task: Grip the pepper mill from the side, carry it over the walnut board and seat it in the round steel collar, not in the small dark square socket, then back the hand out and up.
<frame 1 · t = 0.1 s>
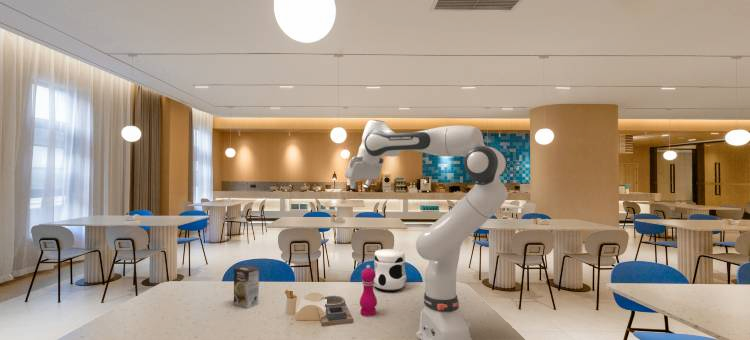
hand: (359, 188, 143), 52 cm above the table, tool tilted 20°, fingers open, 8 cm apart
caddy board: (333, 313, 138), on the table
coffee box: (246, 304, 148), on the table
milk container: (389, 288, 170), on the table
pepper mill: (368, 313, 139), on the table
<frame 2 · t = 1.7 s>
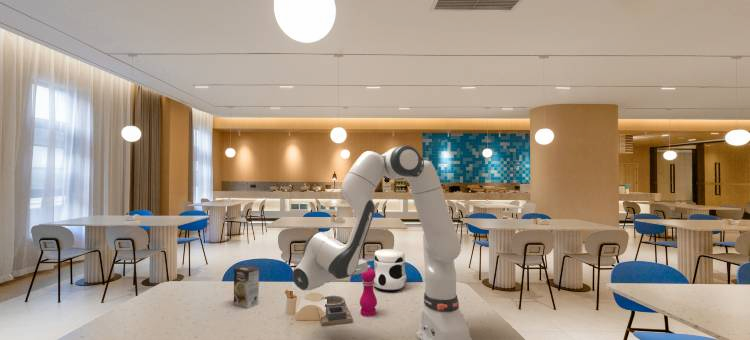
hand: (352, 259, 129), 25 cm above the table, tool horizontal, fingers open, 8 cm apart
nothing on the table moved.
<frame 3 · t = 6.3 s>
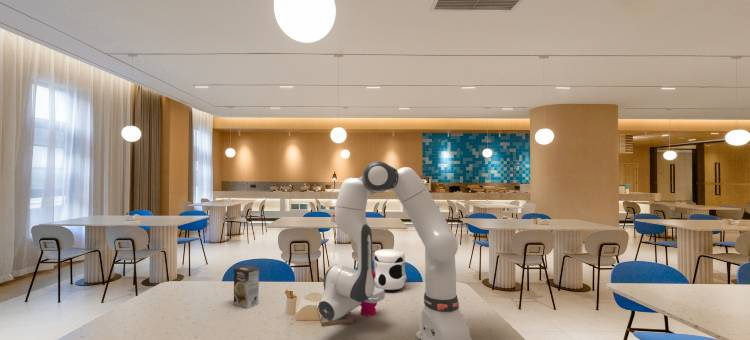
hand: (369, 285, 140), 11 cm above the table, tool horizontal, fingers closed on pepper mill, 5 cm apart
pepper mill: (368, 313, 139), on the table, touching gripper
everything else where it was.
when the fingers open (14 cm above the table, at t = 10.7 s): pepper mill moves 1 cm, resting on caddy board.
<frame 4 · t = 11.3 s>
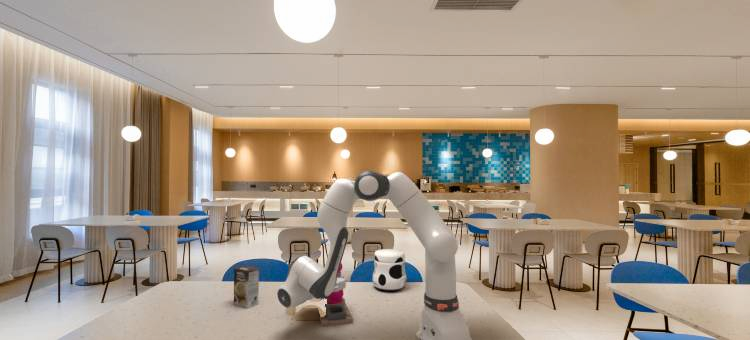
hand: (333, 276, 143), 14 cm above the table, tool horizontal, fingers open, 8 cm apart
pepper mill: (334, 304, 142), point 2 cm above the table, touching caddy board, gripper
everything else where it was.
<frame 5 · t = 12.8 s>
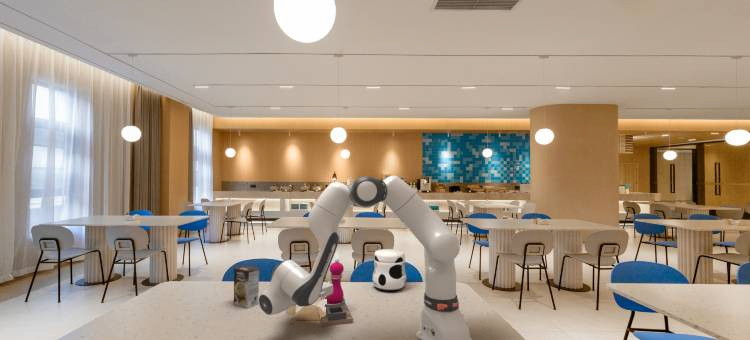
hand: (321, 280, 136), 14 cm above the table, tool horizontal, fingers open, 8 cm apart
pepper mill: (334, 306, 142), point 1 cm above the table, touching caddy board
everything else where it was.
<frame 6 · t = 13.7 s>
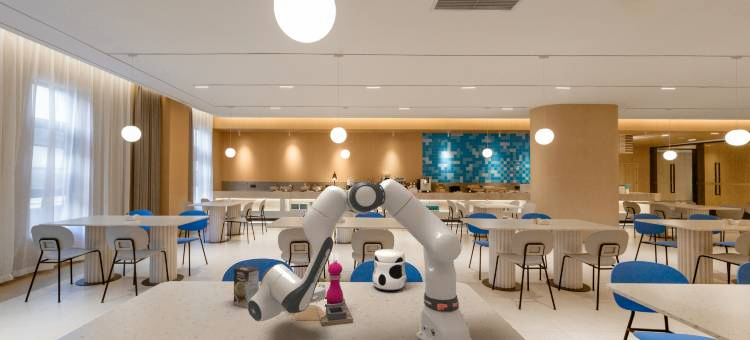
hand: (313, 284, 132), 14 cm above the table, tool horizontal, fingers open, 8 cm apart
nothing on the table moved.
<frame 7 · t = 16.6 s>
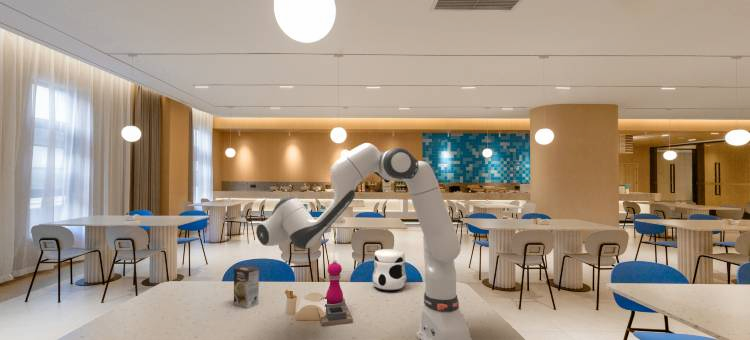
hand: (319, 223, 134), 38 cm above the table, tool horizontal, fingers open, 8 cm apart
nothing on the table moved.
at the end: pepper mill 1.3 cm from the target spot on the caddy board, point 1.3 cm above the caddy board's base; pepper mill tilted 0°; the gripper is holding nothing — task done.
